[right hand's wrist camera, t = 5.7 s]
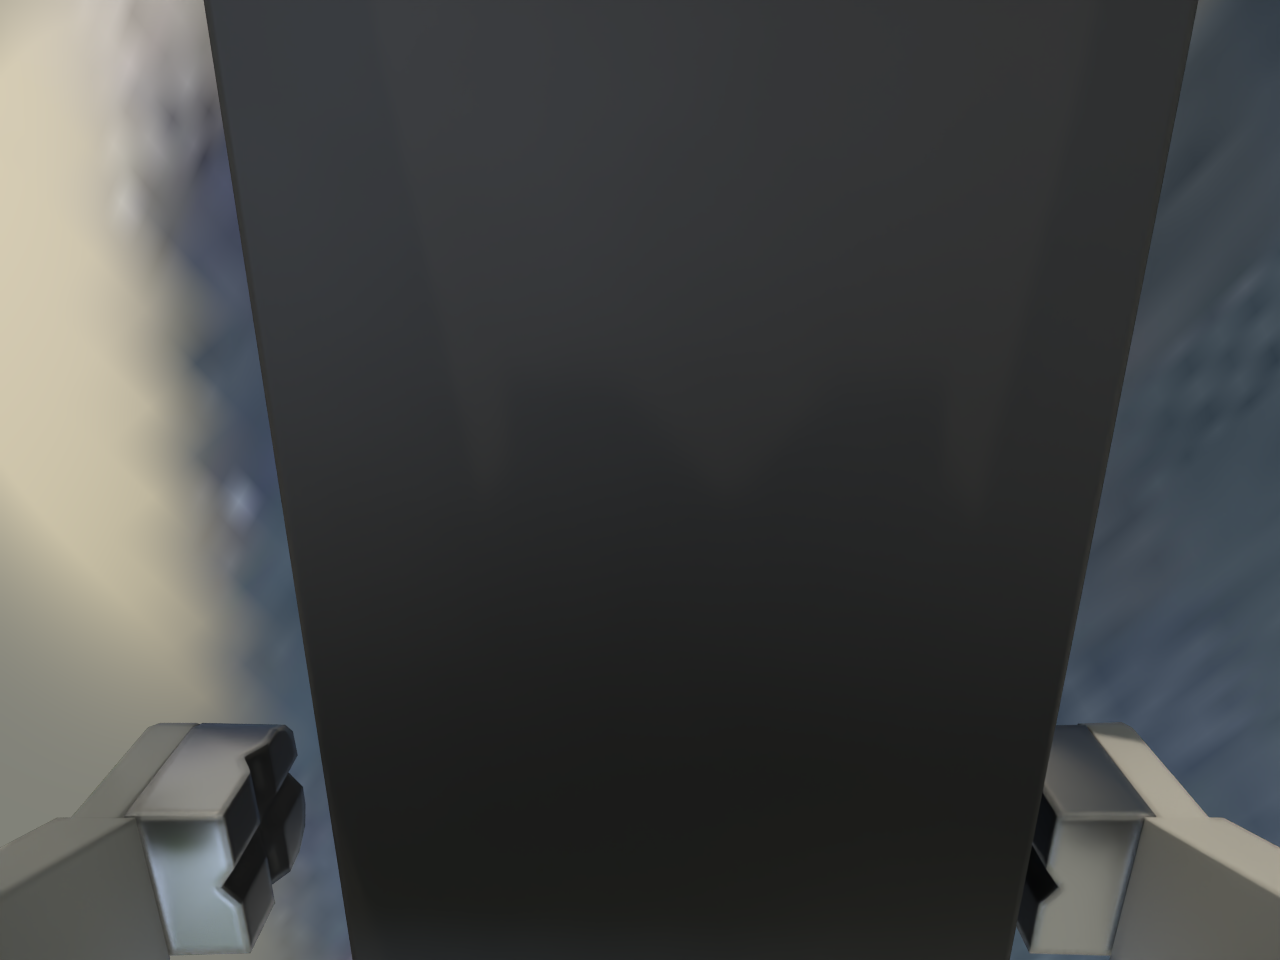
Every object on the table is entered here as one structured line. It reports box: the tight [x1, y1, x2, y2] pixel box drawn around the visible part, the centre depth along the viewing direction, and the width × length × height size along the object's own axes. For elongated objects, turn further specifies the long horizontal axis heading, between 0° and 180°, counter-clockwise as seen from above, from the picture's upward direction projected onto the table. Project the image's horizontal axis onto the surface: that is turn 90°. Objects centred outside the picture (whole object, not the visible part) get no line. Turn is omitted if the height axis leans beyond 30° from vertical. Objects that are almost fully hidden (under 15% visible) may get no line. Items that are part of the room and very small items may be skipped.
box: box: [204, 0, 1198, 960], centre depth 10 cm, size 23×6×10 cm, turn 0°
